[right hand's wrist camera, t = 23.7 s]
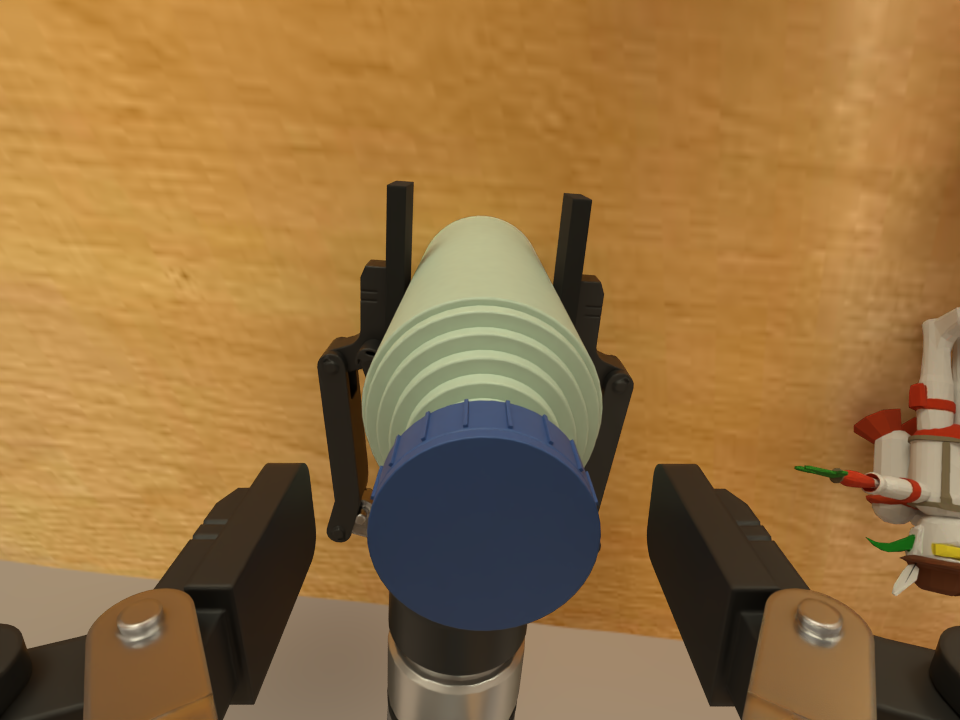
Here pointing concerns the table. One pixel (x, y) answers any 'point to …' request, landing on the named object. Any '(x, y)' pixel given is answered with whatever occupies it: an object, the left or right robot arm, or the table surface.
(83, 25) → the table surface
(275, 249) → the table surface
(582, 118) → the table surface
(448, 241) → the bottle
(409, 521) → the cap
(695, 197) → the table surface
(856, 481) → the toy
